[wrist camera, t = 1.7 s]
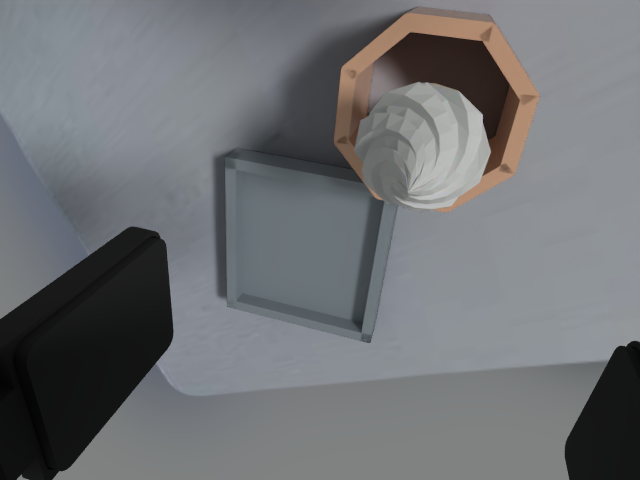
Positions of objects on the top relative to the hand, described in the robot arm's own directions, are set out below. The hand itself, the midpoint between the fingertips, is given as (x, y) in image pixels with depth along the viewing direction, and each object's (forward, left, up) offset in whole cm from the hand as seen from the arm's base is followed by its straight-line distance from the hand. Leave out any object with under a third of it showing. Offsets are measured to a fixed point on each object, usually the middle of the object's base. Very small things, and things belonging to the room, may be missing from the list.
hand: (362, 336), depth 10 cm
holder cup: (0, 0, -22) cm, 22 cm away
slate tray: (+12, -7, -22) cm, 26 cm away
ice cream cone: (0, 0, -23) cm, 23 cm away
